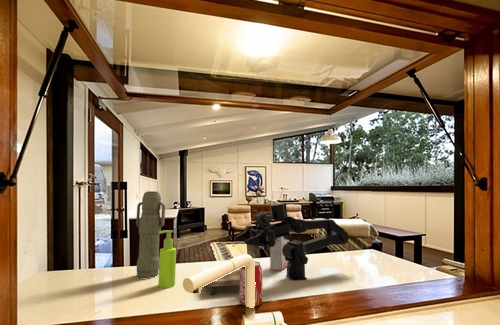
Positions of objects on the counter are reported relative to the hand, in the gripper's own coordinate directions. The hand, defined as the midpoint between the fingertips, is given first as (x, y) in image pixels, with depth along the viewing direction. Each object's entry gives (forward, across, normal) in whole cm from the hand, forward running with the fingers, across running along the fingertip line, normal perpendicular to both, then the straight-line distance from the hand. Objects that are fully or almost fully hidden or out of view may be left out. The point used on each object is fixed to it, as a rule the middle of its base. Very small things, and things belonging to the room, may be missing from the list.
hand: (239, 240), depth 101 cm
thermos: (+31, -30, +11) cm, 45 cm away
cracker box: (-26, -19, +22) cm, 39 cm away
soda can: (+6, +17, +16) cm, 24 cm away
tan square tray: (+8, -1, +15) cm, 17 cm away
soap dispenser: (+27, -13, +12) cm, 32 cm away
